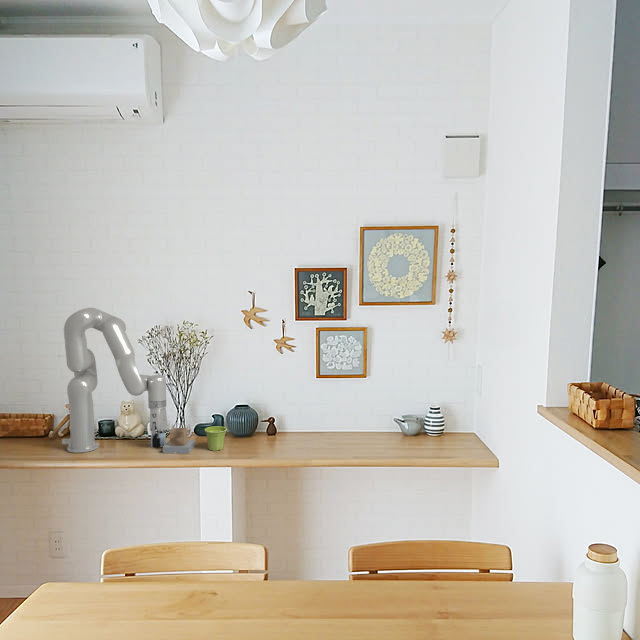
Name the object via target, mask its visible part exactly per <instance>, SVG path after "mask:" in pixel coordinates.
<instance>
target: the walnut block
mask: <svg viewBox="0 0 640 640" xmlns="http://www.w3.org/2000/svg"><path fill="white" fill-rule="evenodd" d="M188 431H189V429H188V427H173V428H172V429H170V431H169V440H170V446H185V444H186V443H187V442H188V440H189V437H188Z"/></svg>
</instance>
